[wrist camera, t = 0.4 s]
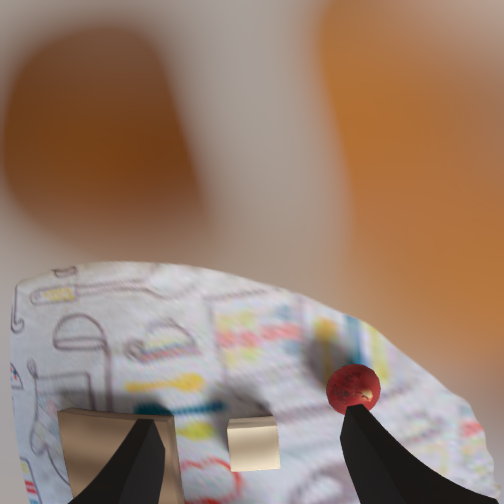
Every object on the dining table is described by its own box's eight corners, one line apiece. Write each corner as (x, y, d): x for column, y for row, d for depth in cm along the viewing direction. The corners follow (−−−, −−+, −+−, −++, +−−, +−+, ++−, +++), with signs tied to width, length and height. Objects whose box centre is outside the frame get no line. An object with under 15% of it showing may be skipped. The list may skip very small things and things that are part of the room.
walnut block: (187, 511, 30) (181, 525, 26) (88, 498, 29) (76, 509, 26) (174, 414, 34) (166, 421, 30) (72, 407, 33) (57, 411, 30)
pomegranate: (315, 407, 34) (333, 421, 26) (324, 360, 36) (344, 362, 28) (361, 411, 34) (388, 424, 26) (370, 365, 35) (399, 368, 28)
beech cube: (276, 453, 32) (280, 468, 28) (233, 456, 32) (231, 471, 27) (273, 415, 34) (277, 425, 29) (229, 418, 34) (227, 428, 29)
